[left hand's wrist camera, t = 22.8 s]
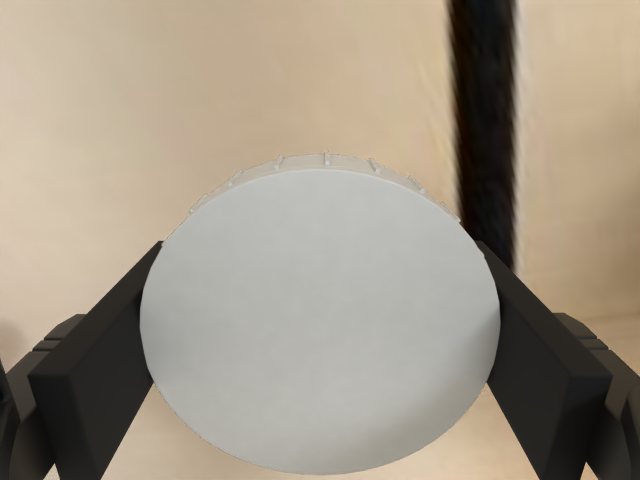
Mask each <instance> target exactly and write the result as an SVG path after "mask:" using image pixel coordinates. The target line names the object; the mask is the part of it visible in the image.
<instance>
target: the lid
mask: <svg viewBox="0 0 640 480" xmlns="http://www.w3.org/2000/svg"><path fill="white" fill-rule="evenodd" d="M189 212H190V213H191V214H190V215H189V216H188V217H187V218H186V219H185V220H184V221H183V222H182V223H181V224H180V225H179V226H178V227H177V228H176V229H175V230H174V231H173V233H172V234H171V235H170V236H169V237H168V238H167V239H166V240H165V241H164V242H163V243H162V245H161V246H163V247H162V248H161V250H160V252H159V254H158V256H157V257H156V259H155V261H154V263H153V265H152V267H151V269H150V272H149V275H148V277H147V280H146V283H145V286H144V290H143V295H142V301H141V306H140V332H141V338H142V343H143V349H144V354H145V359H146V364H147V367H148V370H149V372H150V374H151V376H152V378H153V381H154V383H155V385H156V387H157V389H158V390H159V392H160V393H161V395H162V396H163V398H164V400H165V401H166V403H167V404H168V405H169V406H170V407H171V409H172V410H173V411H174V412H175V413H176V415H177V416H178V417H179V418H180V419H181V420H182V421H183V422H184V423H185V424H186V425H187V426H188V427H189V428H191V429H192V430H193V431H194V432H195V433H196V434H198V435H199V436H201V437H202V438H203V439H205V440H206V441H207V442H209V443H210V444H212V445H214V446H215V447H217V448H219V449H220V450H222V451H224V452H226V453H228V454H230V455H232V456H234V457H236V458H239V459H241V460H243V461H246V462H249V463H252V464H255V465H258V466H261V467H264V468H268V469H272V470H277V471H281V472H288V473H295V474H304V475H334V474H346V473H352V472H358V471H364V470H368V469H372V468H376V467H380V466H383V465H386V464H389V463H391V462H394V461H397V460H400V459H402V458H404V457H406V456H408V455H410V454H412V453H414V452H416V451H418V450H420V449H422V448H423V447H425V446H427V445H428V444H430V443H431V442H433V441H434V440H436V439H437V438H439V437H440V436H441V435H442V434H444V433H445V432H446V431H447V430H449V429H450V428H451V427H452V426H453V425H454V424H455V423H456V422H457V421H458V420H459V419H460V418H461V417H462V416H463V415H464V414H465V413H466V412H467V410H468V409H469V408H470V406H471V405H472V404H473V403H474V401H475V400H476V399H477V397H478V395H479V394H480V392H481V390H482V389H483V387H484V385H485V383H486V382H487V379H488V377H489V375H490V372H491V370H492V367H493V365H494V361H495V356H496V351H497V345H498V340H499V334H500V326H501V320H500V306H499V299H498V295H497V290H496V286H495V282H494V279H493V277H492V274H491V272H490V269H489V267H488V265H487V262H486V260H485V259H484V254H483V253H482V252H481V251H480V250H479V248H478V247H477V245H476V244H475V242H474V241H473V240H472V239H471V237H470V236H469V235H468V234H467V233H466V231H465V230H464V229H463V228H462V227H461V225H460V224H459V222H460V221H461V220H460V219H459V218H458V217H457V216H456V215H455V214H454V213H453V212H452V211H451V210H450V209H449V208H448V207H447V206H446V205H445V204H444V203H443V202H442V203H441V204H440V203H439V202H438V201H437V200H436V199H435V198H434V197H432V196H431V195H430V194H429V193H428V192H427V191H426V190H425V189H423V188H422V187H421V185H420V184H419V183H418V182H417V181H416V180H415V179H414V178H413V177H412V176H409V178H407V177H406V176H404V175H402V174H400V173H398V172H396V171H394V170H391V169H389V168H387V167H385V166H383V165H380V164H376V162H375V161H374V159H371V158H369V161H367V160H364V159H360V158H354V157H348V156H343V155H330V154H329V151H325V154H309V155H298V156H290V157H286V158H284V155H280V156H279V157H278V159H277V160H273V161H269V162H266V163H264V164H261V165H258V166H256V167H253V168H250V169H248V170H246V171H244V172H242V170H239V171H238V172H237V173H236V174H235V175H234V176H233V177H232V178H231V179H229V180H228V181H227V182H225V183H224V184H223V185H221V186H220V187H218V188H217V189H216V190H214V191H213V192H212V193H211V194H210V195H209V196H208V195H207V194H205V195H204V196H203V197H202V198H201V199H200V200H199V201H198V202H197V203H196V204H195V205H194V206H193V207H192V208H191V209H190V210H189Z"/></svg>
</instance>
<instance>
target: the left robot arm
mask: <svg viewBox="0 0 640 480" xmlns="http://www.w3.org/2000/svg"><path fill="white" fill-rule="evenodd" d="M163 242H164V241H158V242H157V243H156V244H155V245H154V246H153V247H152V248H151V249H150V250H149V251H148V252H147V253H146V254H145V255H144V256H143V257H142V258H141V259H140V260H139V262H138V263H137V264H136V265H135V266H134V267H133V268H132V269H131V270H130V271H129V272H128V273H127V274H126V275H125V276H124V277H123V278H122V279H121V280H120V281H119V282H118V283H117V284H116V285H115V286H114V287H113V288H112V289H111V290H110V291H109V292H108V293H107V294H106V295H105V296H104V297H103V298H102V299H101V300H100V301H99V302H98V303H97V304H96V305H95V306H94V307H93V308H92V309H91V310H90V311H89V312H88V313H87V314H76V315H75V316H73V317H71V318H69V319H68V320H66V321H64V322H62V323H60V324H59V325H57V326H56V327H55V328H54V329H53V330H52V331H51V332H50V333H49V334H48V335H47V336H46V337H44V341H40V342H39V343H38V344H37V345H36V346H35V347H34V348H33V350H32V352H29V353H28V354H26V355H25V356H24V357H23V358H22V359H21V360H20V361H19V362H18V363H17V364H16V365H15V366H14V367H13V368H12V369H11V370H10V371H9V372H7V373H6V374H5V371H4V368H3V365H2V362H1V360H0V480H43V479H44V478H45V476H46V475H47V473H48V472H49V470H50V469H51V468H52V466H53V465H54V463H55V465H56V468H57V471H58V474H59V477H60V480H101V478H102V476H103V474H104V473H105V471H106V469H107V467H108V465H109V463H110V461H111V460H112V458H113V456H114V454H115V452H116V450H117V449H118V447H119V445H120V443H121V441H122V439H123V438H124V436H125V434H126V432H127V430H128V428H129V427H130V425H131V423H132V421H133V419H134V417H135V416H136V414H137V412H138V410H139V408H140V406H141V405H142V403H143V401H144V399H145V397H146V395H147V394H148V392H149V390H150V388H151V386H152V384H153V382H154V381H153V378H152V376H151V374H150V372H149V370H148V367H147V364H146V359H145V354H144V349H143V343H142V338H141V332H140V306H141V301H142V295H143V290H144V286H145V283H146V280H147V277H148V275H149V272H150V269H151V267H152V265H153V263H154V261H155V259H156V257H157V256H158V254H159V252H160V250H161V248H162V247H163V246H161V245H162V243H163ZM474 242H475V244H476V245H477V247H478V248H479V250H480V251H481V252H482V253H483V254H484V259H485V260H486V262H487V265H488V267H489V269H490V272H491V274H492V277H493V279H494V282H495V286H496V290H497V295H498V299H499V306H500V320H501V326H500V334H499V340H498V345H497V351H496V356H495V361H494V365H493V367H492V370H491V372H490V375H489V377H488V379H487V384H488V386H489V388H490V389H491V391H492V393H493V395H494V397H495V399H496V400H497V402H498V404H499V406H500V408H501V410H502V411H503V413H504V415H505V417H506V419H507V421H508V422H509V424H510V426H511V428H512V430H513V432H514V433H515V435H516V437H517V439H518V441H519V443H520V444H521V446H522V448H523V450H524V452H525V454H526V455H527V457H528V459H529V461H530V463H531V465H532V467H533V468H534V470H535V472H536V474H537V476H538V478H539V479H540V480H580V478H581V475H582V472H583V469H584V466H585V463H586V462H587V463H588V465H589V466H590V468H591V469H592V471H593V472H594V474H595V475H596V477H597V478H598V480H640V377H639V376H638V375H637V374H636V373H635V372H634V371H633V370H632V369H631V368H630V367H629V366H628V365H627V364H625V363H624V362H623V361H622V360H621V359H620V358H619V357H618V356H617V355H616V354H615V353H614V352H613V351H612V350H608V347H607V346H606V345H605V344H604V343H603V342H602V341H601V340H600V339H597V336H596V335H595V334H594V333H592V332H591V331H590V330H589V329H588V328H587V327H586V326H585V325H584V324H583V323H581V322H579V321H577V320H576V319H574V318H572V317H570V316H568V315H567V314H565V313H552V312H551V311H550V310H549V309H548V308H547V307H546V306H545V305H544V304H543V303H542V302H541V301H540V300H539V299H538V298H537V297H536V296H535V295H534V294H533V293H532V292H531V291H530V290H529V289H528V288H527V287H526V286H525V285H524V284H523V283H522V282H521V281H520V280H519V279H518V278H517V276H516V275H515V274H514V273H513V272H512V271H511V270H510V269H509V268H508V267H507V266H506V265H505V264H504V263H503V262H502V261H501V260H500V259H499V258H498V257H497V256H496V255H495V254H494V253H493V252H492V251H491V250H490V249H489V248H488V247H487V246H486V245H485V244H484V243H483V242H482V241H474Z"/></svg>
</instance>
